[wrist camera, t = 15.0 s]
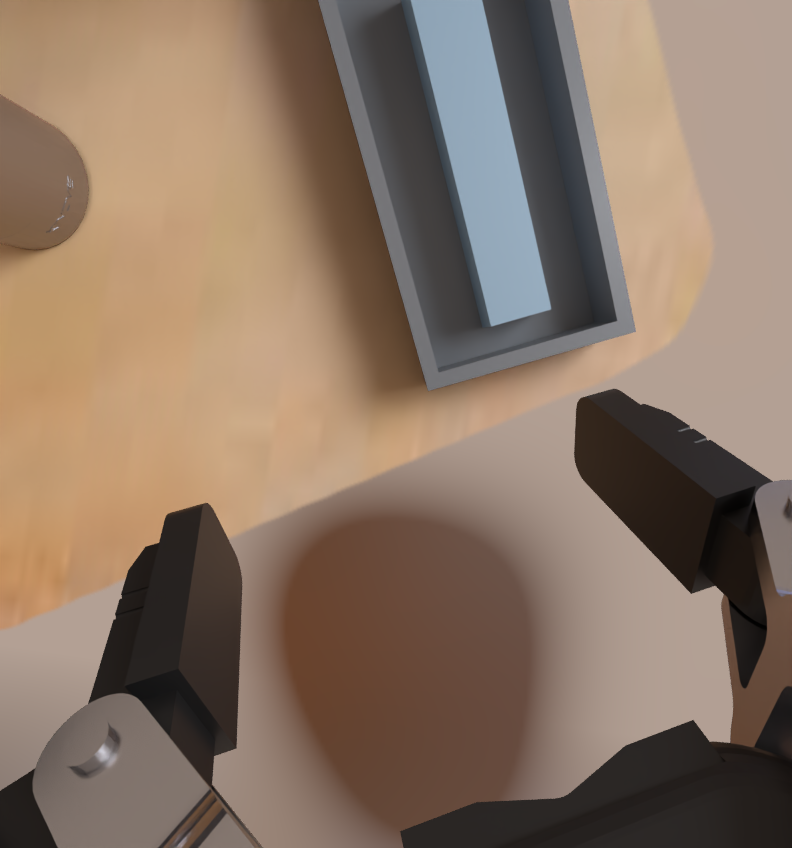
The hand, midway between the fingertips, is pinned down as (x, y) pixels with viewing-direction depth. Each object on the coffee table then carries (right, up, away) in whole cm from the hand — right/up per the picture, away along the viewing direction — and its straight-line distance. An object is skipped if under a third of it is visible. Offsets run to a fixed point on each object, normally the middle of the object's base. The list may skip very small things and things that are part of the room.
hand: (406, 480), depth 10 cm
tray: (+5, +20, +24) cm, 31 cm away
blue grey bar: (+5, +19, +23) cm, 31 cm away
